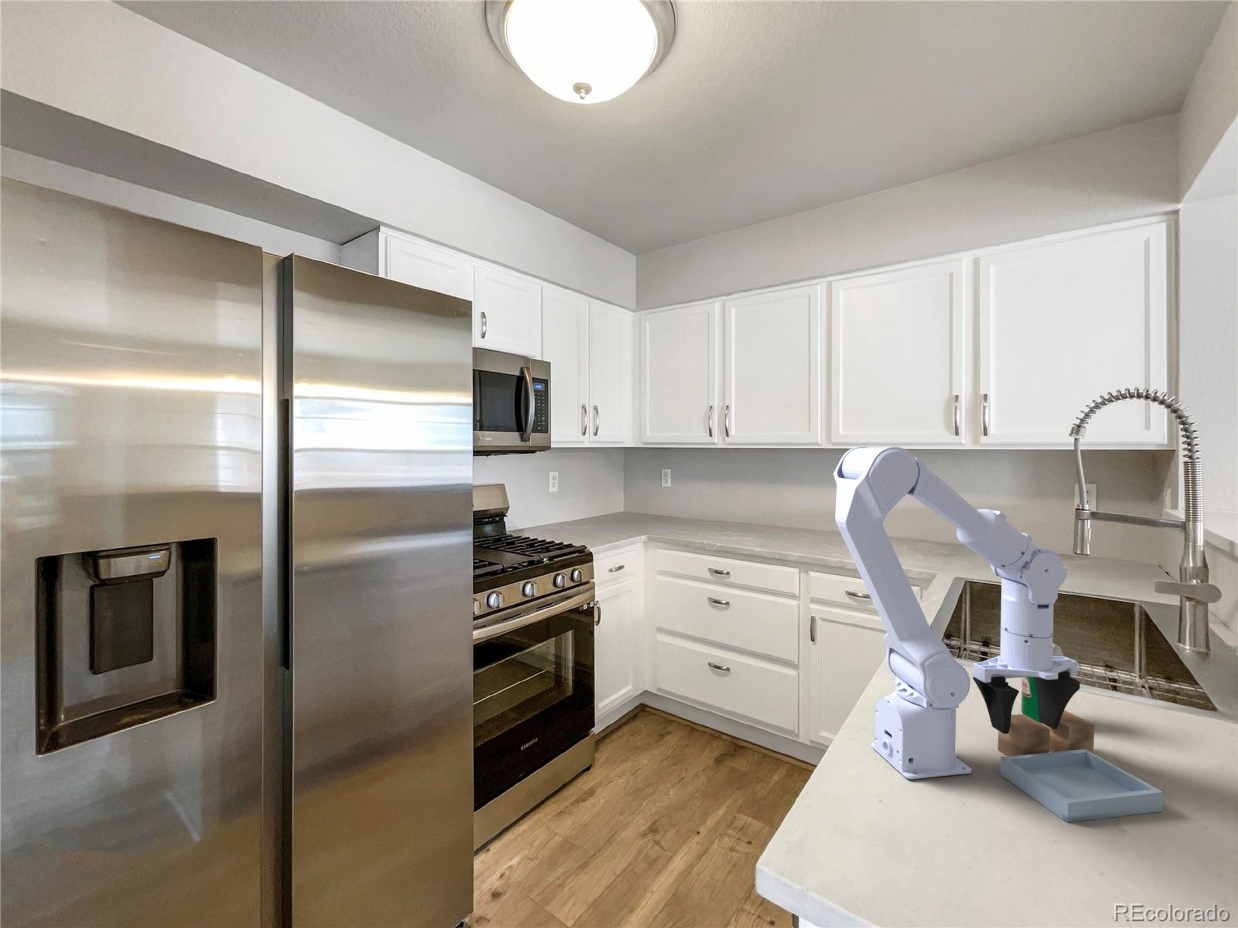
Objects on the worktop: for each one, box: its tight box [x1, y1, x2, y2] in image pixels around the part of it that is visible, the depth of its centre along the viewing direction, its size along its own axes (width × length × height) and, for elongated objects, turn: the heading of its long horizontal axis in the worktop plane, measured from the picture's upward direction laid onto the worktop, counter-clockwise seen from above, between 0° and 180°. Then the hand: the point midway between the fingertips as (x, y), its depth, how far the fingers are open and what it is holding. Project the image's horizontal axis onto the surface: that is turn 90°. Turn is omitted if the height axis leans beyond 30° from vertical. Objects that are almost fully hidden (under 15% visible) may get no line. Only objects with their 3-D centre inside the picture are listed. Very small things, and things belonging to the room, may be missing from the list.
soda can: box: [1020, 643, 1065, 723], centre depth 84 cm, size 5×5×12 cm
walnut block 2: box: [1041, 710, 1095, 754], centre depth 74 cm, size 4×4×5 cm
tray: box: [999, 749, 1164, 823], centre depth 66 cm, size 13×9×2 cm
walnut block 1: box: [997, 713, 1050, 757], centre depth 73 cm, size 4×4×5 cm
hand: (1024, 727), depth 73 cm, fingers open, 7 cm apart
